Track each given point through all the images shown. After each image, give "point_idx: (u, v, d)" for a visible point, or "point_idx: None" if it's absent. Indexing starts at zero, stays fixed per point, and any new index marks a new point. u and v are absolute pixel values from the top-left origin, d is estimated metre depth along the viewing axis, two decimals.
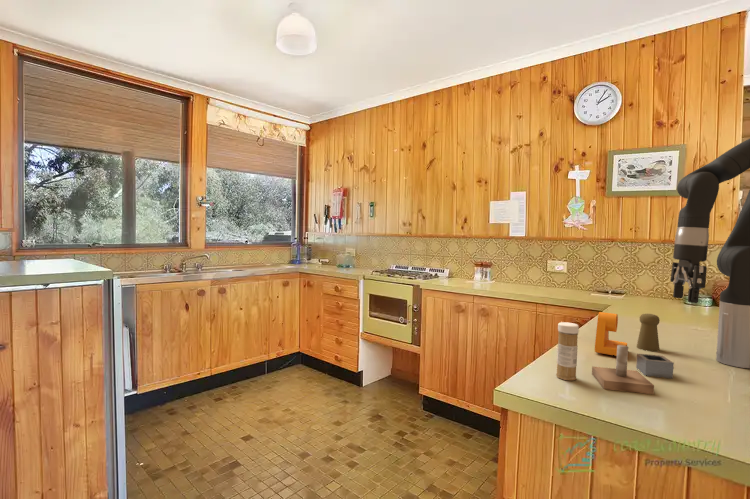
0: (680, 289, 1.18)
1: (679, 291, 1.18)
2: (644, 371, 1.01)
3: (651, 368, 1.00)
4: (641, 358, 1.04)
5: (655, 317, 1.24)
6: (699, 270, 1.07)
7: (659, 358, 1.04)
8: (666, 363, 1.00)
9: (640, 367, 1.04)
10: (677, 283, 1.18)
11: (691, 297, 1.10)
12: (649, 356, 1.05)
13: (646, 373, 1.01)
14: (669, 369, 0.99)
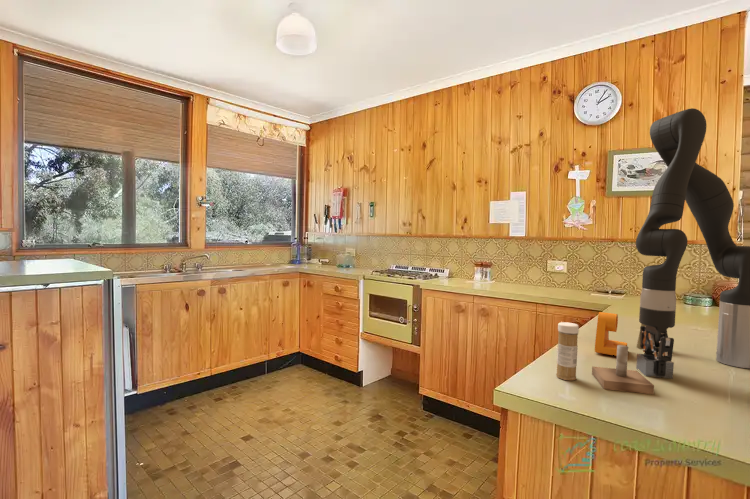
0: None
1: None
2: (644, 371, 1.01)
3: (651, 368, 1.00)
4: (641, 358, 1.04)
5: None
6: (666, 343, 0.96)
7: None
8: (666, 363, 1.00)
9: (640, 367, 1.04)
10: (647, 351, 1.06)
11: (657, 370, 0.99)
12: (649, 356, 1.05)
13: (646, 373, 1.01)
14: (669, 369, 0.99)
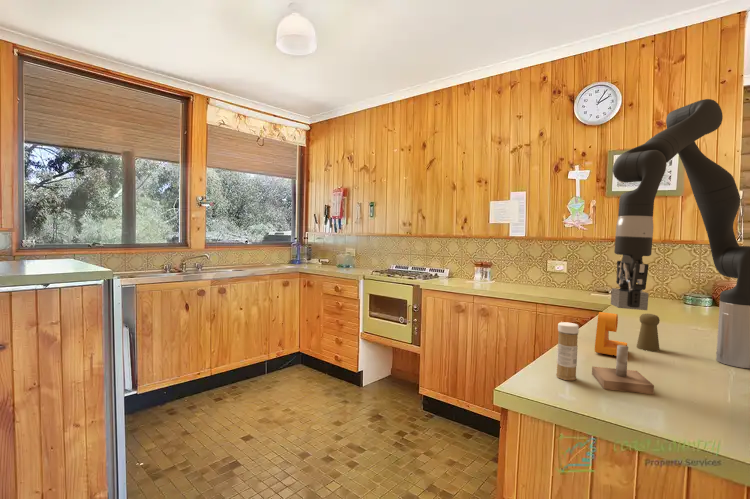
0: None
1: None
2: (617, 303, 0.95)
3: (625, 299, 0.94)
4: (615, 291, 0.97)
5: (655, 317, 1.24)
6: (640, 270, 0.90)
7: None
8: (641, 294, 0.93)
9: (614, 301, 0.98)
10: (623, 285, 0.99)
11: (631, 301, 0.93)
12: (624, 290, 0.98)
13: (619, 305, 0.94)
14: (644, 300, 0.93)
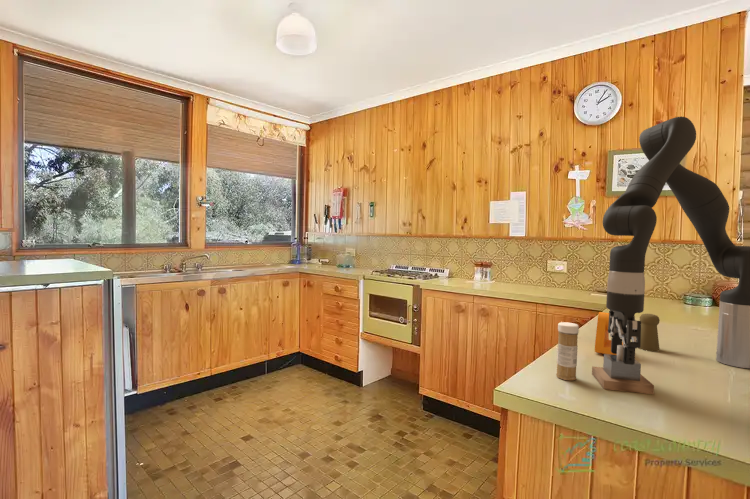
0: (618, 343, 0.98)
1: None
2: (610, 373, 0.94)
3: (617, 370, 0.93)
4: (607, 359, 0.96)
5: (655, 317, 1.24)
6: (633, 326, 0.88)
7: None
8: (633, 364, 0.92)
9: (606, 368, 0.96)
10: (614, 336, 0.99)
11: (626, 358, 0.90)
12: (616, 357, 0.97)
13: (612, 375, 0.93)
14: (636, 371, 0.92)
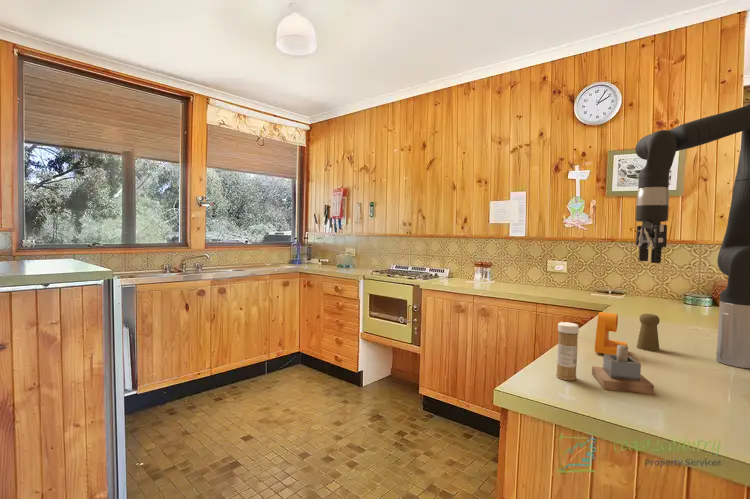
0: (645, 252, 1.17)
1: (644, 254, 1.17)
2: (610, 373, 0.94)
3: (617, 370, 0.93)
4: (607, 359, 0.96)
5: (655, 317, 1.24)
6: (660, 229, 1.06)
7: (627, 359, 0.96)
8: (633, 364, 0.92)
9: (606, 368, 0.96)
10: (642, 246, 1.17)
11: (654, 257, 1.08)
12: (616, 357, 0.97)
13: (612, 375, 0.93)
14: (636, 371, 0.92)
